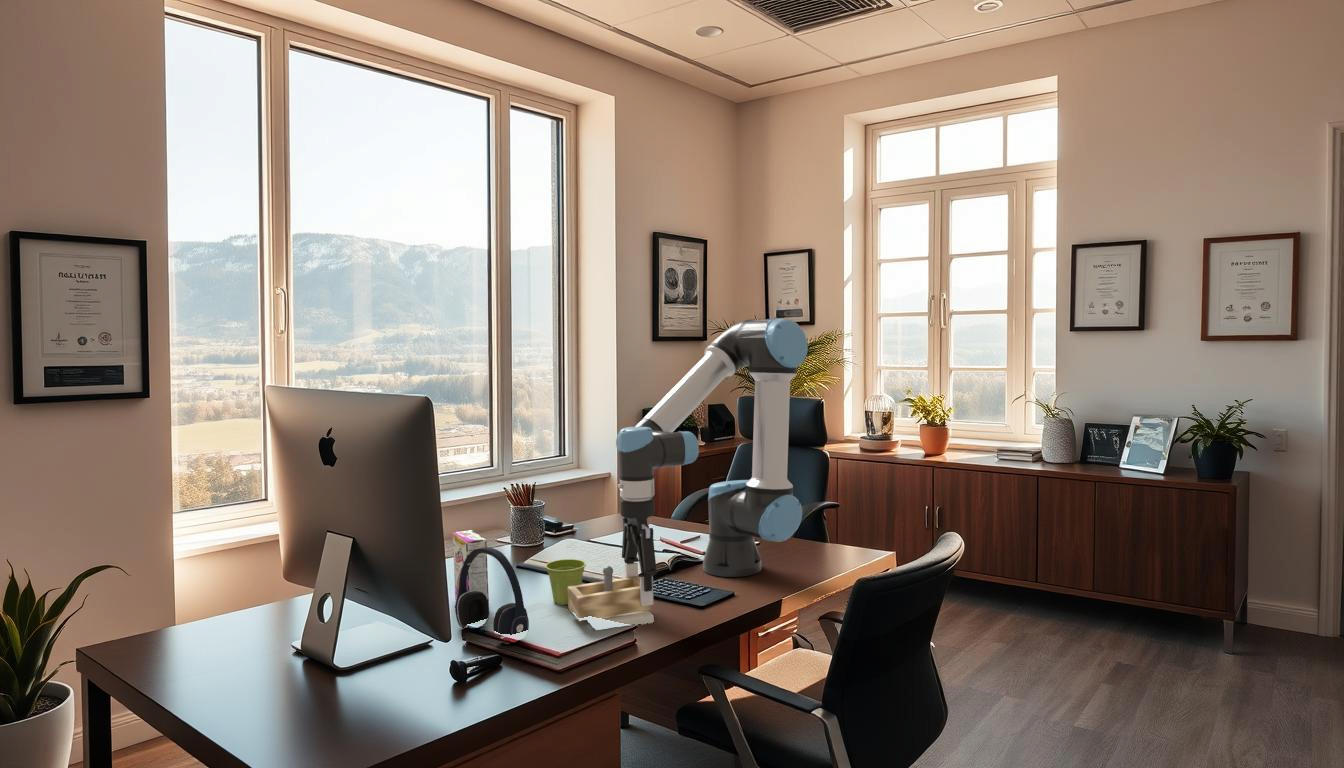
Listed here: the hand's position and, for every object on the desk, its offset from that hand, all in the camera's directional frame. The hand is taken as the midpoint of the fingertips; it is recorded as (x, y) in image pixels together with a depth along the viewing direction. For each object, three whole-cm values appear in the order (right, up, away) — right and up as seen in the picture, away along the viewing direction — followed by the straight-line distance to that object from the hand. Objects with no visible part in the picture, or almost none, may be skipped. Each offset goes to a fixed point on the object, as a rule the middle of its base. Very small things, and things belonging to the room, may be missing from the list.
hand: (639, 598), depth 193 cm
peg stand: (-5, -4, -2) cm, 7 cm away
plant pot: (-17, -3, +11) cm, 21 cm away
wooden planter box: (-6, -2, -2) cm, 7 cm away
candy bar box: (-39, -4, +9) cm, 40 cm away
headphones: (-30, -5, -11) cm, 33 cm away
